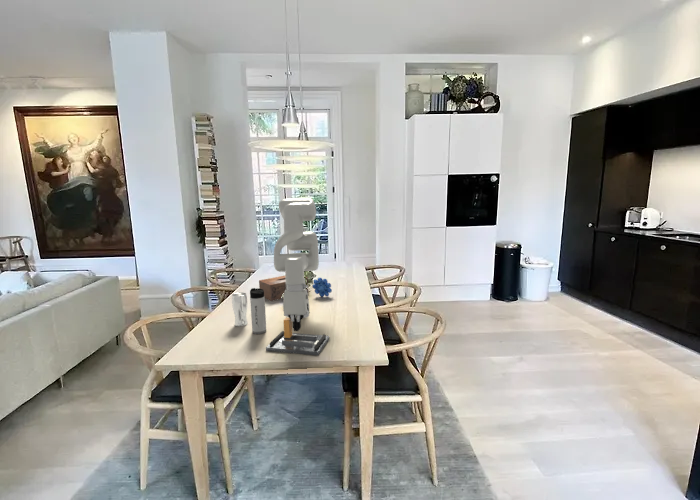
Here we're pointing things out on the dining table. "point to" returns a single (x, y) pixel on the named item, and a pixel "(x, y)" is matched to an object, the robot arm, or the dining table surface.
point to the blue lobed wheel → (322, 287)
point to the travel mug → (258, 311)
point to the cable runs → (283, 333)
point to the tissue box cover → (274, 287)
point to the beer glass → (240, 308)
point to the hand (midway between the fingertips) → (296, 329)
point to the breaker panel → (299, 344)
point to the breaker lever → (288, 329)
